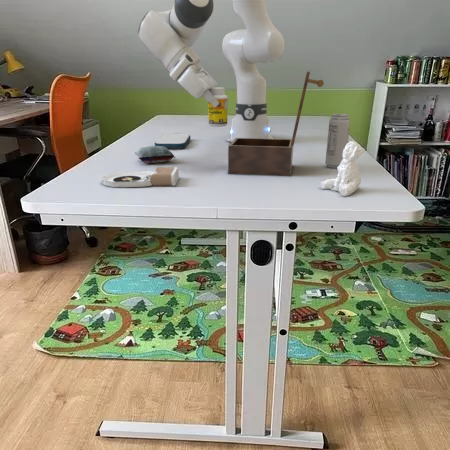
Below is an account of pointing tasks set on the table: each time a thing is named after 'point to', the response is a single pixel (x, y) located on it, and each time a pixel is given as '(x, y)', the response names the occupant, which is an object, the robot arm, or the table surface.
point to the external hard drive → (173, 140)
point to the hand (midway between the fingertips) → (219, 104)
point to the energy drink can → (337, 139)
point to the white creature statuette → (346, 171)
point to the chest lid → (307, 80)
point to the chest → (260, 156)
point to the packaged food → (154, 154)
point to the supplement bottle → (218, 108)
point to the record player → (143, 178)
